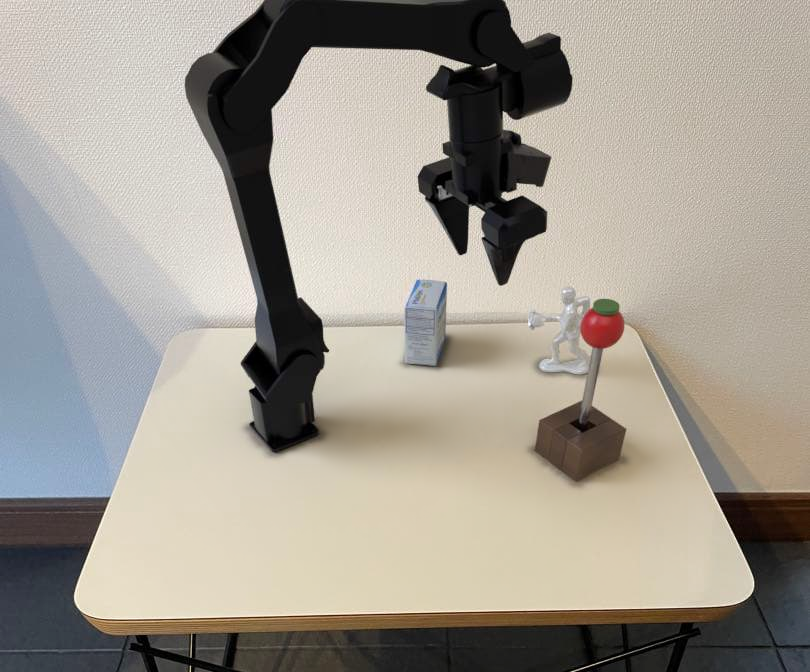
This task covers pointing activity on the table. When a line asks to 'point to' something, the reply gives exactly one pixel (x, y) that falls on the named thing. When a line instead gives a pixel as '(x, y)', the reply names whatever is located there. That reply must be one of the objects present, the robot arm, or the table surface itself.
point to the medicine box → (425, 322)
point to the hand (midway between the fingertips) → (482, 268)
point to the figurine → (565, 333)
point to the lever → (598, 346)
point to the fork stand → (579, 441)
